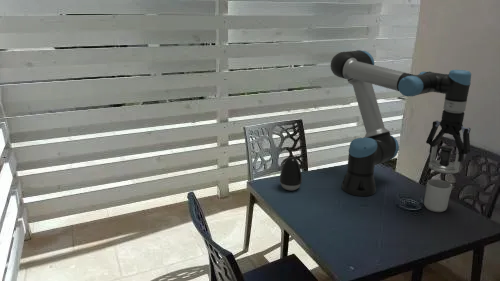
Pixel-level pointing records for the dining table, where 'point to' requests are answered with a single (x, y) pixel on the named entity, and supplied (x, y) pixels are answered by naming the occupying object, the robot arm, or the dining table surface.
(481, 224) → the dining table surface
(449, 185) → the mug
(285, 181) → the black egg-shaped figure
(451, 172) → the lid
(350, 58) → the robot arm
